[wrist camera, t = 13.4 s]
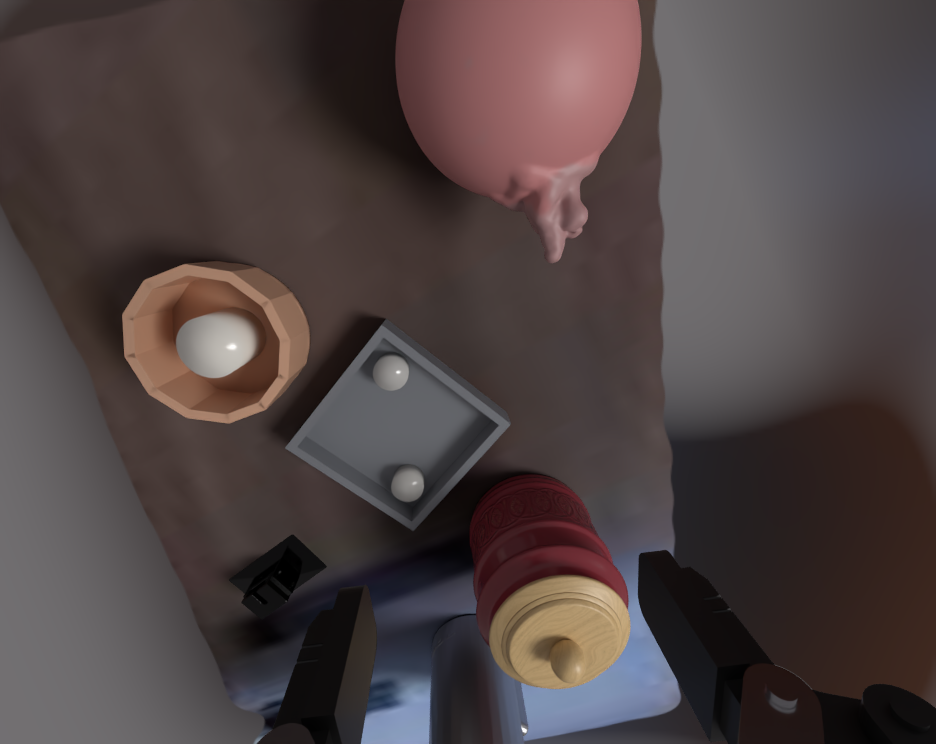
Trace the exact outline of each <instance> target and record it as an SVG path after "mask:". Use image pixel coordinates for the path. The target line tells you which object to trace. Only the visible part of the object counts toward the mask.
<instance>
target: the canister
mask: <svg viewBox="0 0 936 744" xmlns="http://www.w3.org/2000/svg"><path fill="white" fill-rule="evenodd" d="M469 538H470V548H471V552H472V555H473V563H474V579H473V587H474V593H475V597H476V600H477V607H476V620H477V625H478V628H479V631H480V634H481V636H482V637H483V639H484V641H485V642H486V644H487V645H488V646H489V647H490V649H491V653H492V655H493V658H494V659H495V661H496V663H497V664H498V666H499V667H500V668H501V669H502V670H503V671H504V672H505V673H506V674H507V675H509V676H510V677H512V678H513V679H515V680H517V681H519V682H521V683H524V684H527V685H530V686H534V687H540V688H549V689H564V688H571V687H575V686H579V685H582V684H584V683H586V682H588V681H590V680H592V679H594V678H595V677H597V676H598V675H600V674H601V673H602V672H604V671H605V670H606V669H608V668H609V667H610V666H611V665H612V664H613V663H614V662H615V661H616V660H617V659H618V657H619V656H620V655H621V653H622V652H623V650H624V648H625V646H626V644H627V641H628V638H629V634H630V617H629V613H628V590H627V586H626V583H625V581H624V579H623V577H622V575H621V573H620V572H619V571H618V569H617V568H616V567H615V566H614V565H613V561H612V557H611V555H610V552H609V550H608V548H607V547H606V545H605V544H604V542H603V541H602V540H601V539H600V538H599V536H598V534H597V532H596V530H595V528H594V526H593V524H592V523H591V519H590V516H589V513H588V511H587V509H586V507H585V506H584V504H583V502H582V501H581V499H580V498H579V497H578V496H577V495H576V494H575V493H574V492H573V491H572V490H571V489H570V488H569V487H568V486H567V485H565V484H564V483H562V482H561V481H559V480H557V479H554V478H552V477H549V476H545V475H538V474H525V475H518V476H514V477H511V478H508V479H506V480H503V481H501V482H500V483H498V484H496V485H495V486H493V487H492V488H491V489H489V490H488V491H487V492H486V493H485V494H484V495H483V496H482V498H481V499H480V500H479V502H478V504H477V505H476V507H475V509H474V512H473V515H472V520H471V524H470V530H469Z"/></svg>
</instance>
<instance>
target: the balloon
mask: <svg viewBox="0 0 936 744" xmlns="http://www.w3.org/2000/svg"><path fill="white" fill-rule="evenodd" d="M640 56H641V20H640V12H639V6H638V1H637V0H405V1H404V4H403V8H402V11H401V15H400V20H399V25H398V31H397V39H396V54H395V65H396V79H397V88H398V93H399V98H400V102H401V106H402V109H403V112H404V115H405V118H406V121H407V123H408V126H409V128H410V130H411V132H412V134H413V136H414V138H415V140H416V141H417V143H418V145H419V146H420V148H421V149H422V151H423V152H424V154H425V155H426V156H427V157H428V159H429V160H430V161H431V162H432V163H433V165H434V166H435V167H436V168H437V169H438V170H439V171H440V172H442V173H443V174H444V175H445V176H446V177H447V178H449V179H450V180H452V181H453V182H454V183H456V184H458V185H459V186H461V187H463V188H465V189H467V190H469V191H471V192H473V193H476V194H479V195H482V196H486V197H489V198H491V199H492V200H493V201H495V202H497V203H499V204H501V205H503V206H505V207H506V208H508V209H510V210H513V211H519V212H524V213H525V214H526V216H527V218H528V220H529V222H530V224H531V226H532V228H533V229H534V230H535V232H536V233H537V234H539V235H540V239H541V242H542V245H543V247H544V249H545V259H546V260H547V261H548V262H549V263H555V262H557V261H558V260H559V259H560V258H561V255H562V252H563V248H564V245H565V238H575V237H577V236H578V235H579V234H580V233H581V232H582V230H583V229H582V226H583V225H584V224H585V223H586V221H587V218H588V211H587V209H586V207H585V206H584V205H583V204H582V202H581V200H580V182H581V180H582V179H583V178H584V177H586V176H588V175H589V174H590V173H591V172H592V171H593V170H594V169H595V167H596V165H597V162H598V159H599V155H600V154H601V153H602V152H603V150H604V149H605V148H606V147H607V145H608V144H609V142H610V141H611V139H612V138H613V136H614V135H615V133H616V132H617V130H618V128H619V126H620V124H621V122H622V120H623V118H624V116H625V114H626V112H627V109H628V107H629V104H630V101H631V99H632V95H633V92H634V89H635V85H636V81H637V76H638V71H639V65H640Z"/></svg>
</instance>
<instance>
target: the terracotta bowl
mask: <svg viewBox="0 0 936 744" xmlns="http://www.w3.org/2000/svg"><path fill="white" fill-rule="evenodd" d="M230 307H237V308H242V309H245V310H248V311H250V312H251V313H253V314H254V315H255V316H256V317H257V318H258V319H259V320H260V321H261V323H262V324H263V326H264V328H265V332H266V344H265V347H264V349H263V351H262V352H261V354H260V355H259V356H257V357H256V358H254V359H253V360H251V361H249V362H248V363H246V364H245V365H243V366H241V367H240V368H238V369H237V370H235V371H233V372H232V373H230V374H229V375H226V376H224V377H220V378H208V377H204V376H201V375H198V374H196V373H195V372H193V371H191V370H190V369H189V368H188V367H187V366H186V365H185V364H184V363H183V362H182V360H181V359H180V357H179V354H178V352H177V348H176V338H177V334H178V332H179V330H180V328H181V327H182V326H183V325H184V324H185V323H186V322H187V321H189V320H191V319H194V318H197V317H200V316H203V315H206V314H210V313H213V312H216V311H219V310H222V309H226V308H230ZM122 320H123V338H124V355H125V358H126V360H127V361H128V363H129V364H130V366H131V367H132V369H133V371H134V372H135V374H136V375H137V377H138V378H139V380H140V381H141V383H142V385H143V386H144V388H145V389H146V391H147V392H148V394H149V395H151V396H153V397H154V398H156V399H157V400H159V401H160V402H162V403H164V404H165V405H167V406H168V407H170V408H172V409H173V410H175V411H176V412H178V413H180V414H181V415H183V416H184V417H186V418H191V419H199V420H206V421H214V422H222V423H231V422H234V421H237V420H239V419H242V418H245V417H247V416H250V415H253V414H255V413H258V412H261V411H263V410H266V409H267V408H268V407H269V406H270V405H271V404H272V403H273V402H274V401H275V400H276V399H277V398H278V397H280V396H281V395H282V394H283V393H284V392H285V391H286V390H287V388H288V387H289V386H290V384H291V383H292V382H293V381H294V379H295V378H296V377H297V376H298V375H299V374H300V372H301V371H302V369H303V367H304V366H305V365H306V363H307V358H308V355H309V350H310V328H309V324H308V320H307V317H306V314H305V312H304V309H303V308H302V306H301V304H300V302H299V301H298V299H297V298H296V297H295V295H294V294H293V293H292V292H291V290H290V289H289V288H288V287H287V286H286V285H285V284H283V283H282V282H281V281H280V280H279V279H277V278H276V277H274V276H273V275H271V274H269V273H267V272H265V271H263V270H261V269H259V268H257V267H253V266H249V265H245V264H239V263H227V262H221V261H212V262H201V263H190V264H183V265H181V266H178V267H176V268H173V269H171V270H168V271H166V272H163V273H161V274H158V275H156V276H153V277H151V278H148V279H145V280H144V281H143V282H142V284H141V286H140V287H139V289H138V290H137V292H136V294H135V295H134V297H133V298H132V300H131V301H130V303H129V305H128V306H127V308H126V309H125V311H124V313H123V314H122Z"/></svg>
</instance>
